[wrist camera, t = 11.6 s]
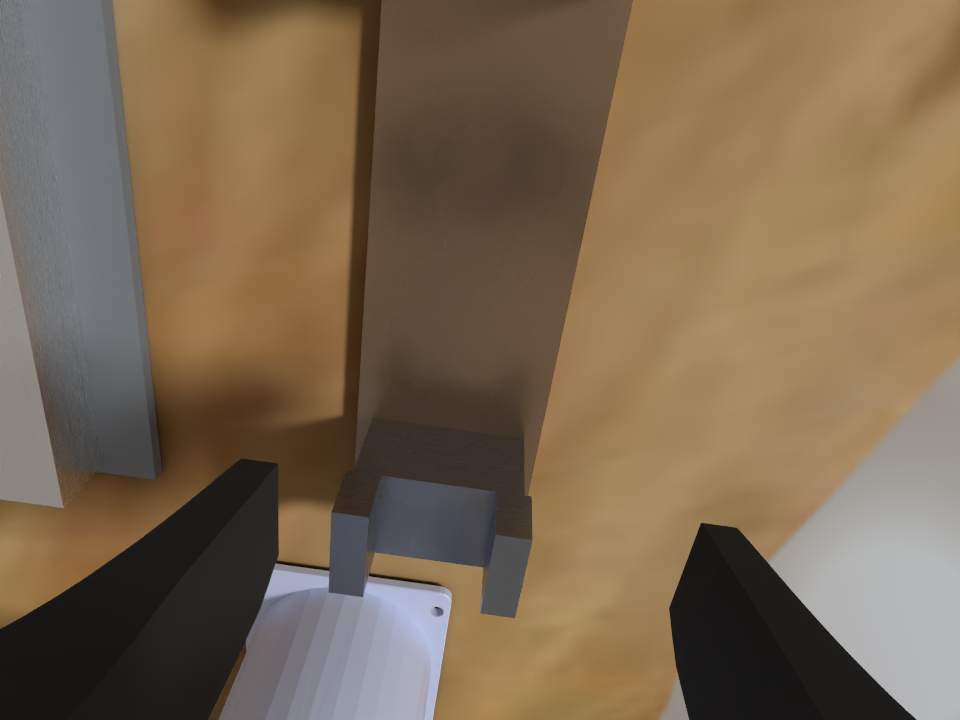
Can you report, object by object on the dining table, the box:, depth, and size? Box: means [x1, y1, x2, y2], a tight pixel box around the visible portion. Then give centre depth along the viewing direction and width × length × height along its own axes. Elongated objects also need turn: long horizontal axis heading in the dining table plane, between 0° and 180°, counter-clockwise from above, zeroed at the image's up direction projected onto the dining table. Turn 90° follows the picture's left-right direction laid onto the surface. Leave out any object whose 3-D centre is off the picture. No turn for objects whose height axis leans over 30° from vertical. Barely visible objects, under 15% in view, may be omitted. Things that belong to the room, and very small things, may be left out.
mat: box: [31, 0, 162, 480], centre depth 20 cm, size 21×6×1 cm, turn 172°
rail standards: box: [328, 0, 633, 618], centre depth 18 cm, size 21×6×5 cm, turn 172°
